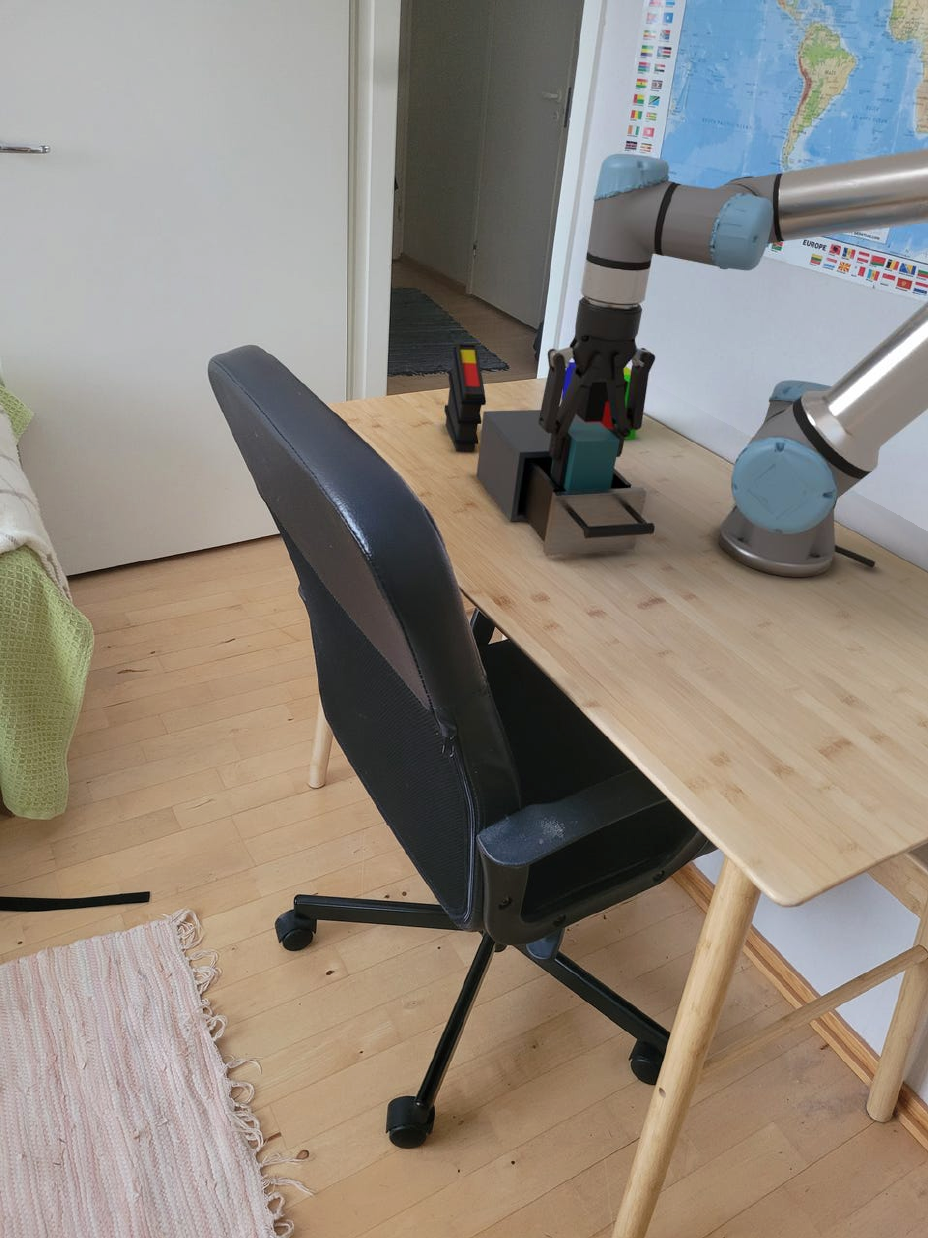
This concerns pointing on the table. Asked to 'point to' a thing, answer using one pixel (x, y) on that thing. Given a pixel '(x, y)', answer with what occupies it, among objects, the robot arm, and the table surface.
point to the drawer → (581, 512)
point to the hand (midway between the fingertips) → (580, 479)
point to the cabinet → (510, 454)
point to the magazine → (465, 398)
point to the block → (590, 457)
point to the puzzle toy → (597, 400)
